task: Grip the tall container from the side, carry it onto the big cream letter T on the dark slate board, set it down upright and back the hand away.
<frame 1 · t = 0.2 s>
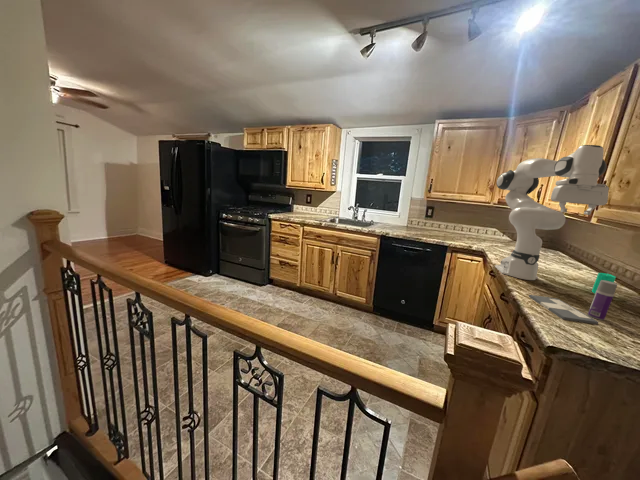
hand: (575, 213, 114), 39 cm above the countertop, tool pointing down, fingers open, 8 cm apart
candle: (599, 294, 129), on the countertop
container: (595, 317, 101), on the countertop
letter board: (559, 309, 106), on the countertop
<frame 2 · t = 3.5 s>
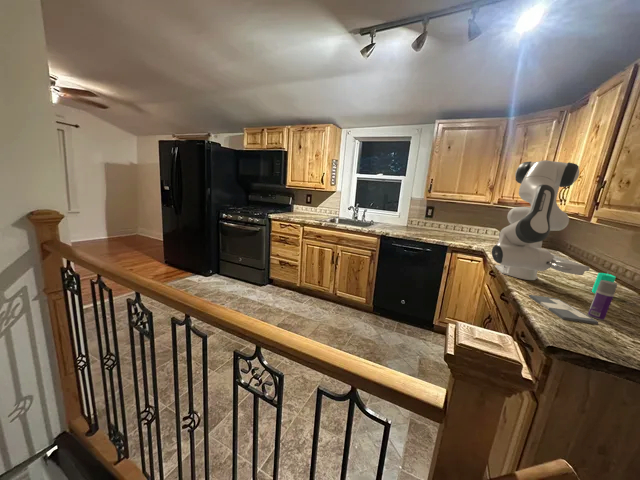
hand: (577, 264, 98), 20 cm above the countertop, tool horizontal, fingers open, 8 cm apart
nothing on the countertop moved.
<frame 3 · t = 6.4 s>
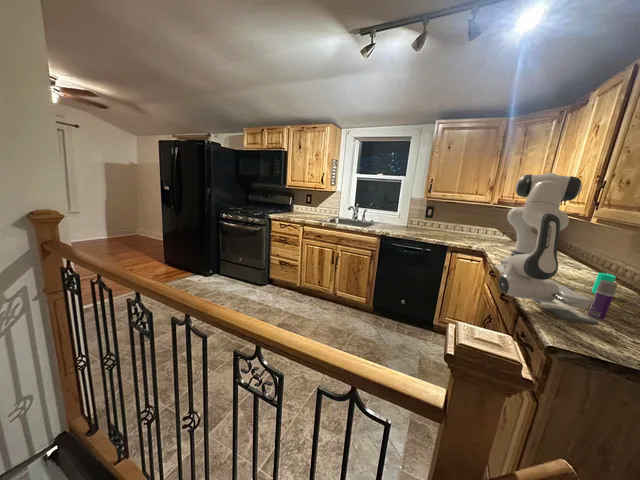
hand: (582, 295, 100), 8 cm above the countertop, tool horizontal, fingers open, 8 cm apart
nothing on the countertop moved.
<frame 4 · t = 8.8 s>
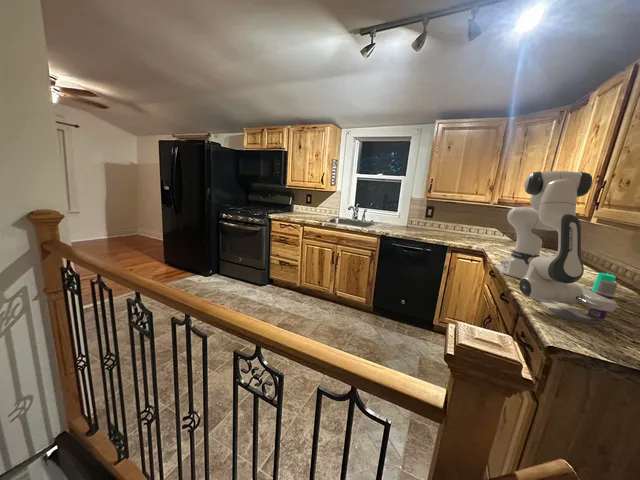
hand: (605, 297, 99), 9 cm above the countertop, tool horizontal, fingers closed on container, 5 cm apart
container: (595, 317, 101), on the countertop, touching gripper
everything else where it was.
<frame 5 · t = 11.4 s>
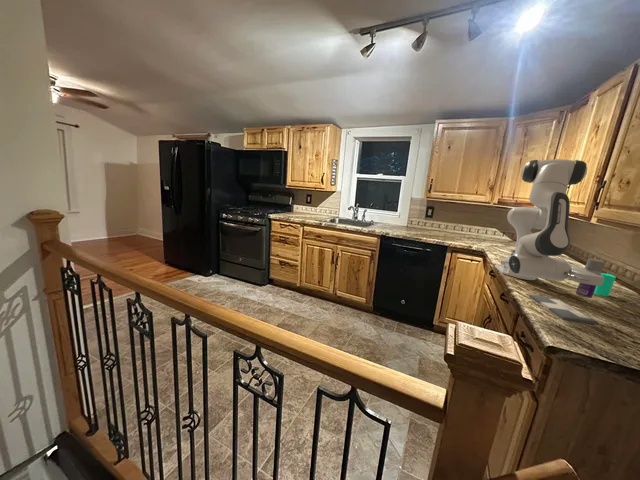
hand: (593, 274, 100), 17 cm above the countertop, tool horizontal, fingers closed on container, 5 cm apart
container: (583, 295, 102), point 8 cm above the countertop, touching gripper
everything else where it was.
when the fingers open (10 cm above the countertop, at t = 14.2 s): container stays where it is, resting on letter board.
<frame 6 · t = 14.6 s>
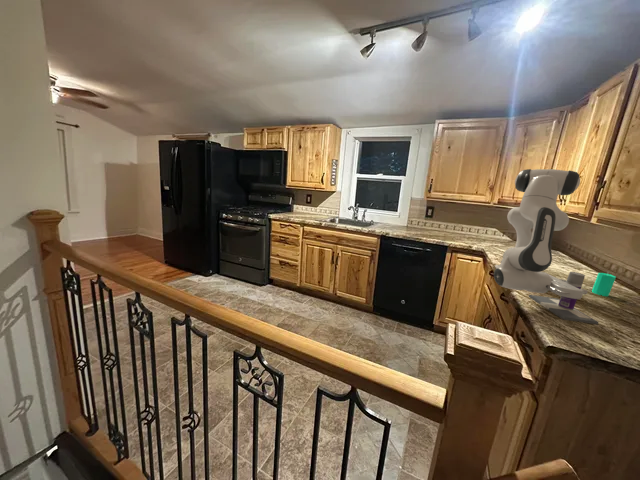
hand: (575, 287, 103), 10 cm above the countertop, tool horizontal, fingers open, 8 cm apart
container: (565, 307, 105), point 1 cm above the countertop, touching letter board
everything else where it was.
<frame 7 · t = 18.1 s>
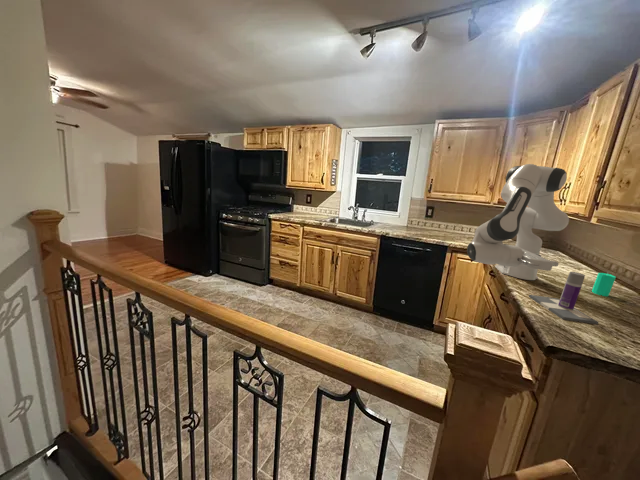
hand: (548, 260, 102), 20 cm above the countertop, tool horizontal, fingers open, 8 cm apart
nothing on the countertop moved.
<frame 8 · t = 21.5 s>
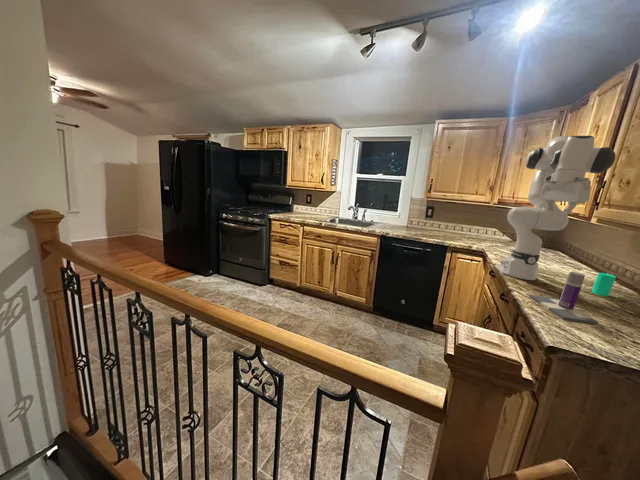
hand: (557, 212, 104), 39 cm above the countertop, tool pointing down, fingers open, 8 cm apart
nothing on the countertop moved.
at the end: container inside the target area on the letter board (0.1 cm from its centre), point 0.9 cm above the letter board's base; container tilted 0°; the gripper is holding nothing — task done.
